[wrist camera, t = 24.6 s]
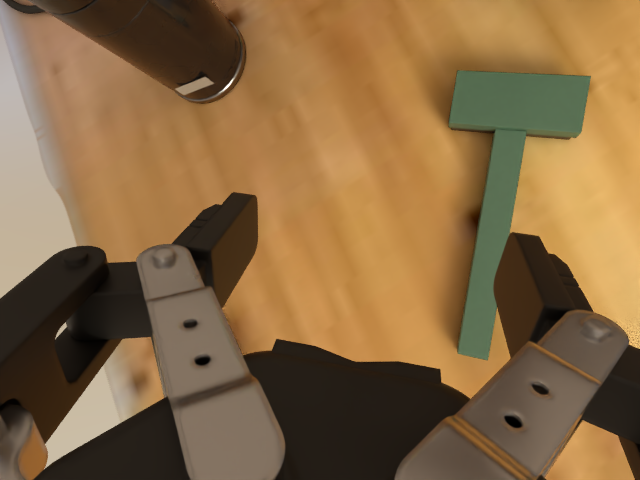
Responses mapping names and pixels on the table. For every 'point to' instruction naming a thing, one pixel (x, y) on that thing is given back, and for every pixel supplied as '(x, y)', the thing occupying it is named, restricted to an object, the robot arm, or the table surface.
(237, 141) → the table surface
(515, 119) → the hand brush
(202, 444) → the robot arm
